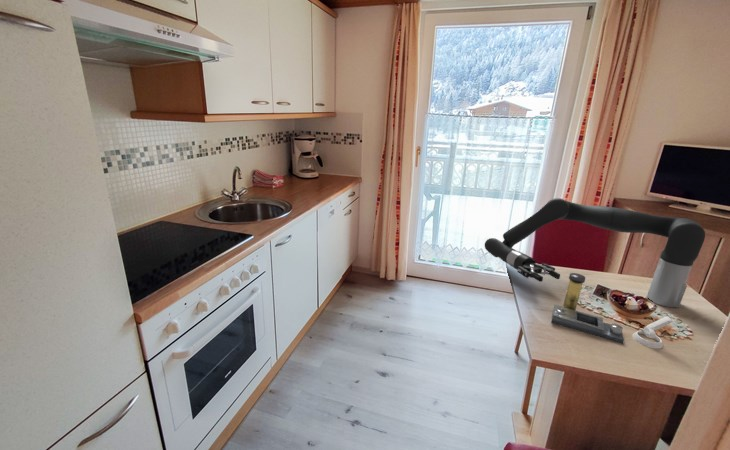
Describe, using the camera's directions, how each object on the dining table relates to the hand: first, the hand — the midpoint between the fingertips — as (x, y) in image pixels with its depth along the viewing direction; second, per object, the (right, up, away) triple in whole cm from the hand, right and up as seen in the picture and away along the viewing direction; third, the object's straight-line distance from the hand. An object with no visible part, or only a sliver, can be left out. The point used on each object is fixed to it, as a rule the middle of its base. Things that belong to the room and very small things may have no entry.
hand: (550, 278), depth 128 cm
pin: (+3, -11, -7) cm, 13 cm away
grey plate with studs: (+2, -14, -17) cm, 22 cm away
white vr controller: (+18, -17, -23) cm, 34 cm away
